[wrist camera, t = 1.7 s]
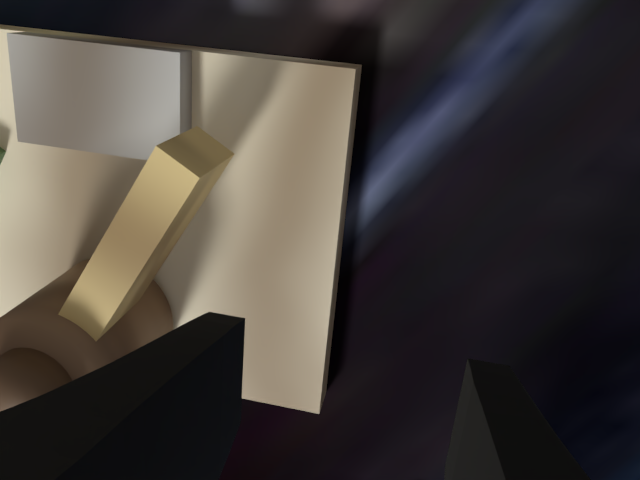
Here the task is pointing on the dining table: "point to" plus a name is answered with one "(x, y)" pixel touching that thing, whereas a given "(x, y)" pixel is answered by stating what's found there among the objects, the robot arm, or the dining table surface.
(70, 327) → the knob
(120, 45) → the tuner board
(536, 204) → the dining table surface
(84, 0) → the dining table surface
